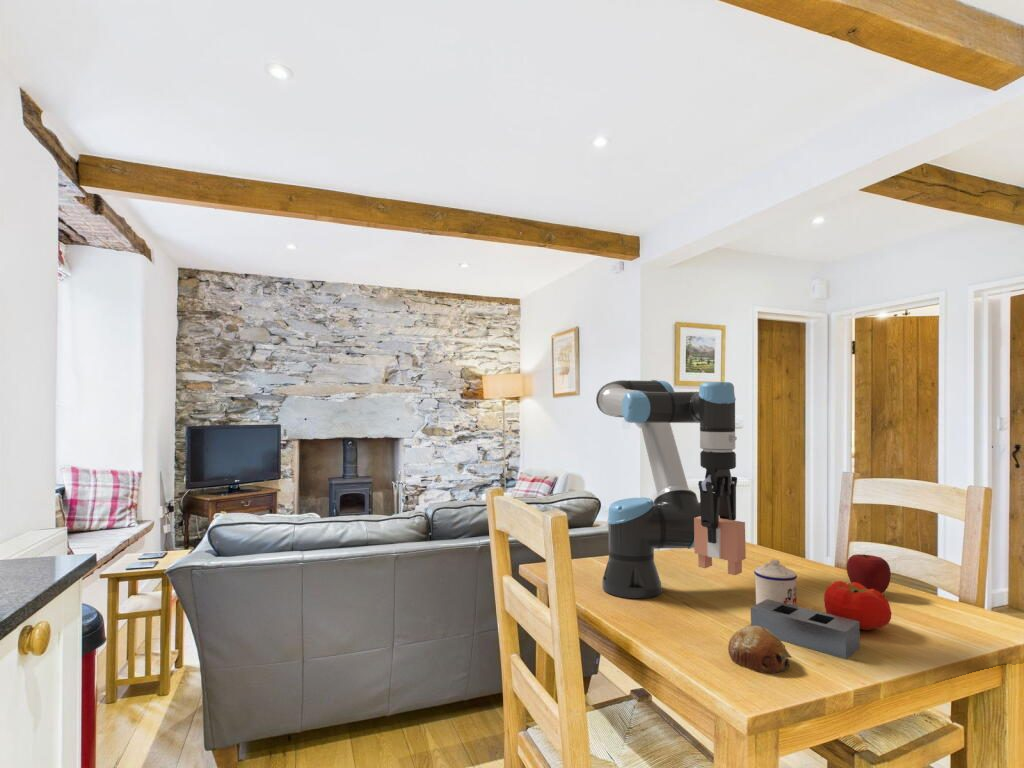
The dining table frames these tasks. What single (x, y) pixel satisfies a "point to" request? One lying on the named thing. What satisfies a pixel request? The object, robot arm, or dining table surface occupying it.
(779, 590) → the teacup with lid
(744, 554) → the chamfered pink post
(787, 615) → the grey rectangular block
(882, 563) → the apple
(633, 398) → the robot arm
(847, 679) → the dining table surface
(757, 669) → the bread roll
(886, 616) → the tomato
